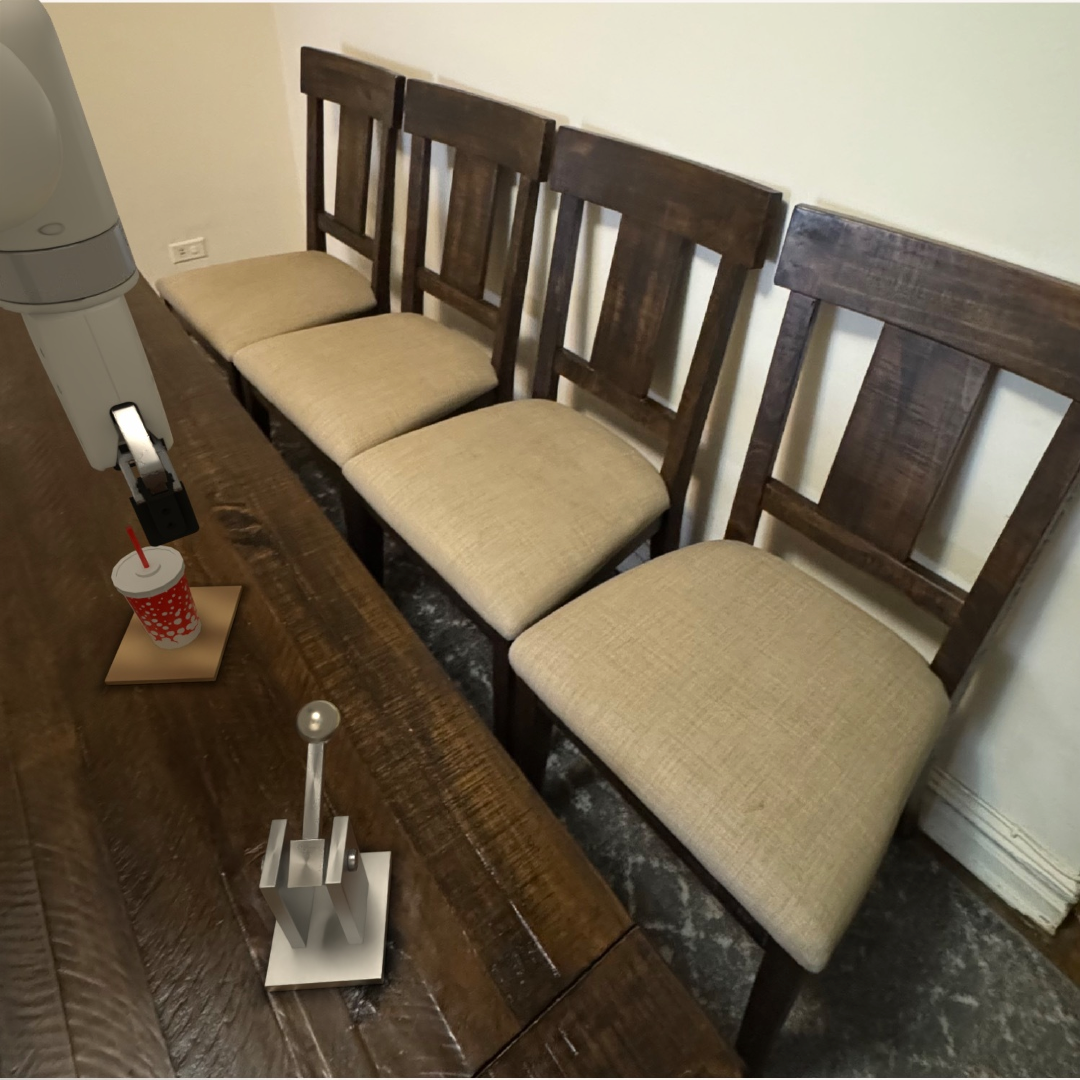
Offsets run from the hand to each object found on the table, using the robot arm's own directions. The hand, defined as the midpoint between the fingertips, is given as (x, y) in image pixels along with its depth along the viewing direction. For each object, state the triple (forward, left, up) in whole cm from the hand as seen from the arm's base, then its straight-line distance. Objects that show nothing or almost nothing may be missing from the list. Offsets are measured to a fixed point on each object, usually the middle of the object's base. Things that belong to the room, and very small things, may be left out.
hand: (155, 498), depth 53 cm
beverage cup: (+8, +8, -24) cm, 27 cm away
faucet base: (-20, -11, -25) cm, 34 cm away
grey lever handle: (-15, -11, -14) cm, 24 cm away
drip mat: (+8, +8, -25) cm, 27 cm away
